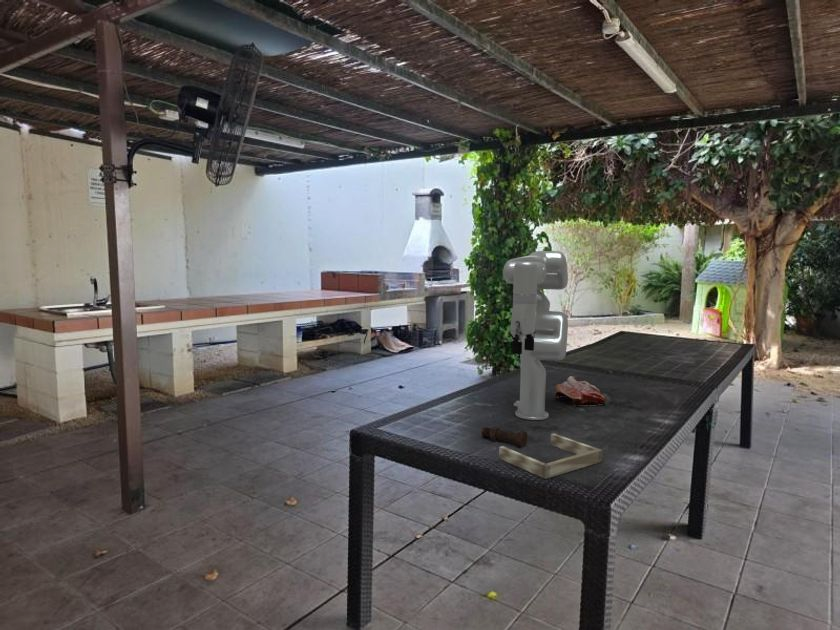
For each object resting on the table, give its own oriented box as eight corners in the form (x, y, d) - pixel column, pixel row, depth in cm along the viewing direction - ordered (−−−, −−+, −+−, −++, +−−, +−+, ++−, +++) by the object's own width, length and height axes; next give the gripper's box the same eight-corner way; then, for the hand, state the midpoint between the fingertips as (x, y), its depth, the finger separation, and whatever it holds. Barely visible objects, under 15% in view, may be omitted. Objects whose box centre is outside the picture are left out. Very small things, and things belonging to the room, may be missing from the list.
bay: (498, 458, 160) (499, 446, 160) (553, 444, 174) (554, 433, 173) (545, 479, 145) (546, 466, 145) (601, 461, 158) (602, 450, 158)
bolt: (484, 442, 181) (525, 450, 172) (477, 438, 177) (519, 446, 168) (488, 425, 183) (529, 432, 174) (482, 421, 179) (523, 428, 170)
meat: (615, 401, 231) (616, 378, 230) (595, 410, 215) (596, 386, 214) (569, 393, 245) (570, 371, 244) (547, 401, 228) (548, 378, 228)
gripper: (524, 298, 183) (523, 348, 185) (502, 300, 169) (501, 354, 171) (545, 299, 179) (543, 350, 181) (524, 301, 165) (523, 356, 166)
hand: (523, 352), depth 176 cm, fingers open, 9 cm apart
